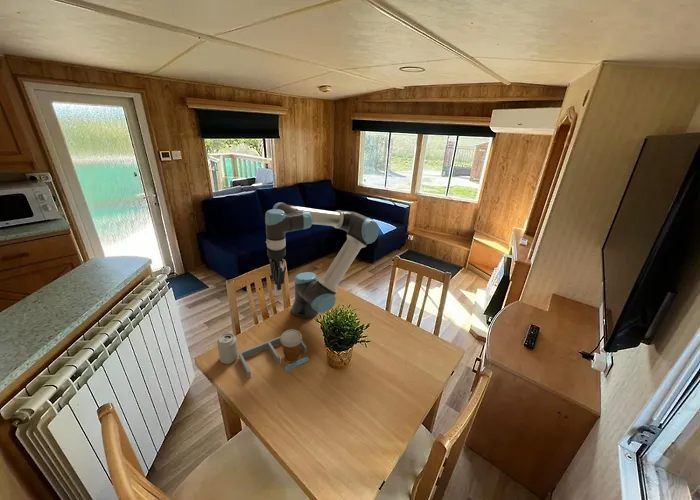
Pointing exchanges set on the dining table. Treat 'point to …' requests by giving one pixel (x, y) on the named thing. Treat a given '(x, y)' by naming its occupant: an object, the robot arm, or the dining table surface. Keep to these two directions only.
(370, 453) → the dining table surface
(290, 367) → the blue rectangular block
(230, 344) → the can
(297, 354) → the disposable coffee cup
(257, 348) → the comb rack
